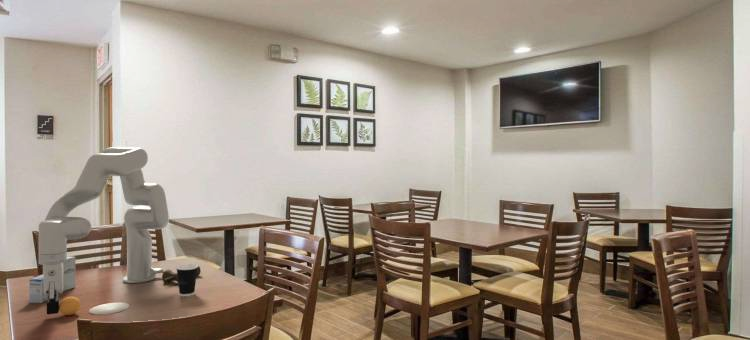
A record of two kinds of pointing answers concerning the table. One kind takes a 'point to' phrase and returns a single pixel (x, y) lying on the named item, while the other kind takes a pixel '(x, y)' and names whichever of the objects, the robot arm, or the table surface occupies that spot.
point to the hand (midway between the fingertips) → (52, 313)
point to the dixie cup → (186, 279)
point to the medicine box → (37, 290)
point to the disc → (109, 308)
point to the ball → (69, 305)
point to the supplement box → (69, 273)
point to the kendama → (173, 275)
